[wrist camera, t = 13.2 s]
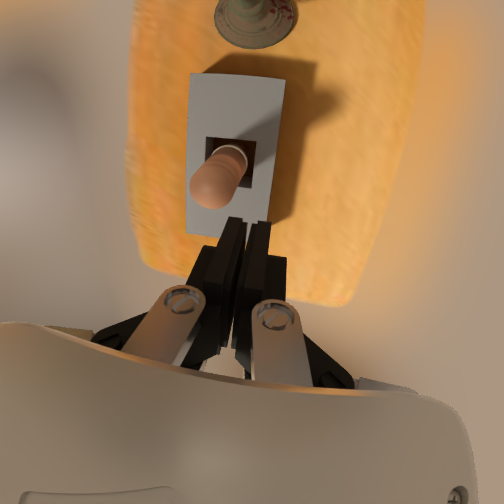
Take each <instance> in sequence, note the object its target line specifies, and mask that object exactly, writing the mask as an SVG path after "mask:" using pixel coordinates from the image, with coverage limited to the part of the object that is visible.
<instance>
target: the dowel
mask: <svg viewBox="0 0 504 504" xmlns="http://www.w3.org/2000/svg"><path fill="white" fill-rule="evenodd" d="M248 156H249V152H248V149H247V147H246V146H245V145H244V144H243V143H241V142H239V141H231V142H228V143H227V144H225V145H223V146H220V147H219V148H217V149H216V150H215V151H214V152H213V153H212V155H211V156H210V157H209V158H208V159H207V160H206V161H205V163H204V164H203V165H202V166H201V167H200V168H199V169H198V170H197V171H196V172H195V173H194V174H193V176H192V177H191V180H190V185H189V187H190V193H191V195H192V197H193V199H194V200H195V201H196V202H197V203H198V204H199V205H201V206H202V207H205V208H208V209H219V208H222V207H224V206H226V205H227V204H228V203H229V202H230V201H231V200H232V198H233V196H234V193H235V191H236V189H237V187H238V185H239V182H240V180H241V178H242V176H243V175H244V173H245V172H246V169H247V165H248V161H247V159H248Z"/></svg>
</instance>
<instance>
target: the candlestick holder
mask: <svg viewBox="0 0 504 504" xmlns="http://www.w3.org/2000/svg"><path fill="white" fill-rule="evenodd" d="M214 20H215V26H216V28H217V30H218V32H219V34H220V35H221V36H222V37H223V38H224V39H225V40H226V41H228V42H229V43H231V44H233V45H235V46H238V47H241V48H246V49H261V48H266V47H269V46H272V45H274V44H276V43H277V42H279V41H281V40H282V39H283V38H284V37H285V36H286V35H287V34H288V33H289V31H290V29H291V27H292V26H293V21H294V11H293V7H292V5H291V3H290V1H289V0H220V1H219V3H218V4H217V6H216V9H215V14H214Z"/></svg>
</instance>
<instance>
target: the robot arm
mask: <svg viewBox="0 0 504 504" xmlns="http://www.w3.org/2000/svg"><path fill="white" fill-rule="evenodd" d="M271 223H272V222H266V221H260V220H258V222H257V224H255V223H252V225H251V229H250V233H249V237H248V241H247V245H246V235H247V226H248V222H243V218H239V217H231V216H229V217H228V219H227V222H226V224H225V227H224V229H223V232H222V234H221V237H220V239H219V242H218V244H217V247H213V246H207V245H204V246H203V247H202V249H201V252H200V254H199V256H198V258H197V260H196V262H195V265H194V267H193V269H192V271H191V273H190V276H189V278H188V280H187V282H186V285H178V286H174V287H171V288H169V289H167V290H165V291H164V293H162V294H161V296H160V297H159V298H158V300H157V301H156V302H155V304H154V305H153V307H152V308H151V309H150V311H148V312H146V313H143V314H141V315H138V316H136V317H133V318H130V319H128V320H125V321H123V322H120V323H118V324H115V325H112V326H110V327H107V328H105V329H102V330H100V331H99V332H97V333H96V334H95V333H93V331H92V330H86V329H76V328H65V327H58V326H41V325H37V324H32V323H26V322H3V323H0V504H478V488H477V477H476V470H475V464H474V458H473V452H472V448H471V444H470V440H469V437H468V433H467V430H466V428H465V425H464V423H463V421H462V419H461V417H460V415H459V414H458V412H457V411H456V410H454V409H453V408H452V407H451V406H449V405H447V404H445V403H443V402H441V401H439V400H436V399H433V398H431V397H428V396H423V395H419V394H418V393H417V392H415V391H414V390H412V389H410V388H407V387H402V386H397V385H393V384H387V383H384V382H379V381H375V380H371V379H367V378H363V377H360V378H359V379H358V380H357V379H353V378H352V376H351V375H350V374H349V373H348V372H347V371H346V370H345V369H344V368H343V367H341V366H340V365H339V364H338V363H337V362H336V361H335V360H333V359H332V358H331V357H330V356H329V355H328V354H326V353H325V352H324V351H323V350H322V349H321V348H320V347H318V346H317V345H316V344H315V343H314V342H313V341H311V340H310V339H309V338H308V337H307V336H306V335H305V334H304V333H303V331H302V326H301V321H300V317H299V314H298V312H297V310H296V309H295V308H294V307H293V306H291V305H290V304H289V303H287V302H285V297H286V268H287V258H286V257H280V256H274V255H268V248H269V240H270V231H271ZM245 245H246V249H245ZM233 317H234V321H233ZM232 322H233V332H232V344H231V348H233V349H236V352H235V358H236V360H238V362H239V363H240V364H241V365H242V366H243V367H244V369H243V379H240V378H234V377H229V376H223V375H217V374H212V373H207V372H203V371H204V369H205V367H206V363H207V359H208V358H210V357H212V356H214V355H216V354H218V355H219V354H220V350H221V347H227V344H228V340H229V335H230V331H231V326H232Z"/></svg>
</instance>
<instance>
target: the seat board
mask: <svg viewBox="0 0 504 504" xmlns="http://www.w3.org/2000/svg"><path fill="white" fill-rule="evenodd" d="M285 83H286V80H283V79H276V78H267V77H258V76H247V75H233V74H211V73H190V87H189V102H188V121H187V149H186V233H189V234H196V235H203V236H210V237H217V238H220V237H221V234H222V232H223V229H224V227H225V224H226V222H227V219H228V217H229V216H231V217H239V218H243V222H248V226H247V235H246V242H247V241H248V237H249V233H250V229H251V225H252V223H255V224H257V222H258V220H260V221H267V214H268V207H269V200H270V193H271V186H272V179H273V172H274V165H275V158H276V150H277V143H278V136H279V128H280V121H281V113H282V106H283V98H284V91H285ZM214 137H219V138H230V139H240V140H249V141H257V143H256V152H255V161H254V170H253V177H248V176H242V178H241V180H240V182H239V185H238V187H237V189H236V191H235V193H234V196H233V198H232V200H231V201H230V202H229V203H228V204H227V205H226V206H224V207H222V208H219V209H208V208H205V207H202V206H201V205H199V204H198V203H197V202H196V201H195V200H194V199H193V197H192V195H191V193H190V187H189V185H190V180H191V177H192V176H193V174H194V173H195V172H196V171H197V170H198V169H199V168H200V167H201V166H202V165H203V164H204V163H205V161H206V160H207V159H208V158H209V157H210V156H211V155H212V153H213V145H214Z"/></svg>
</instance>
